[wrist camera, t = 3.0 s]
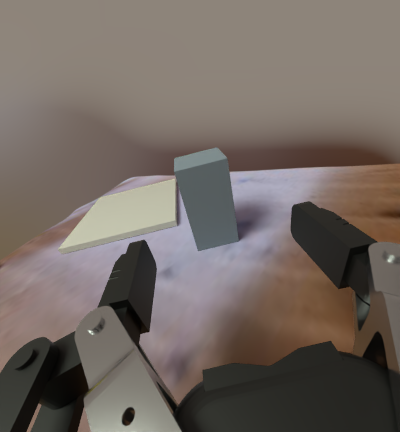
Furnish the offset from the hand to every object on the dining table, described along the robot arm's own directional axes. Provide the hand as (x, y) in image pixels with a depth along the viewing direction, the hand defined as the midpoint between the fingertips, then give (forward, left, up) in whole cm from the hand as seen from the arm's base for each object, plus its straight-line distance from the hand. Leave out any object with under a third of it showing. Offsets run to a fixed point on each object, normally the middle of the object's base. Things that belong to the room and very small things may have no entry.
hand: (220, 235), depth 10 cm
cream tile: (+14, -24, -9) cm, 29 cm away
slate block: (0, -11, -9) cm, 14 cm away
